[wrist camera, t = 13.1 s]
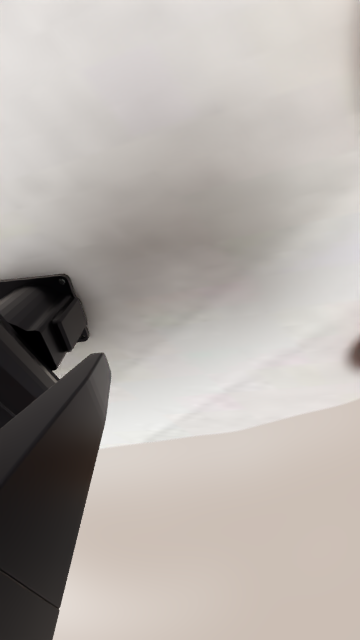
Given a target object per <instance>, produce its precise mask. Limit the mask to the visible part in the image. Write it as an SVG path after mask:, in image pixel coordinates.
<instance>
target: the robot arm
mask: <svg viewBox="0 0 360 640" xmlns="http://www.w3.org/2000/svg"><path fill="white" fill-rule="evenodd" d="M61 279H64V280H65V283H63V282H62V281H61ZM86 325H87V321H86V318H85V315H84V312H83V309H82V306H81V303H80V300H79V299H78V298H77V297H76V295H75V293H74V290H73V287H72V284H71V281H70V279H69V277H68V276H67V275H65V274H58V275H48V276H39V277H30V278H20V279H11V280H2V281H0V640H52V639H53V635H54V631H55V627H56V623H57V619H58V615H59V608H60V605H61V601H62V597H63V593H64V589H65V585H66V581H67V577H68V573H69V568H70V564H71V560H72V556H73V552H74V548H75V544H76V540H77V536H78V532H79V528H80V524H81V519H82V515H83V511H84V507H85V503H86V499H87V495H88V491H89V487H90V482H91V478H92V474H93V470H94V466H95V462H96V457H97V453H98V450H99V446H100V442H101V438H102V433H103V429H104V425H105V420H106V414H107V406H108V398H109V390H110V382H111V371H110V368H109V365H108V362H107V359H106V356H105V354H104V353H93V354H90V355H89V356H88V357H87V358H85V359H84V360H83V361H82V362H81V363H79V364H78V365H77V366H76V367H75V368H73V369H72V370H71V371H70V372H68V373H67V374H66V375H65V376H64V377H62V378H61V379H59V378H58V377H57V376H56V375H55V374H54V373H53V372H52V371H53V370H56V369H57V368H58V366H59V364H60V363H61V361H62V359H63V358H64V356H65V354H66V353H67V352H71V351H72V349H73V348H74V346H75V344H76V342H84V341H87V340H88V338H89V332H88V330H87V327H86ZM82 335H84V336H85V337H83V336H82Z"/></svg>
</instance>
